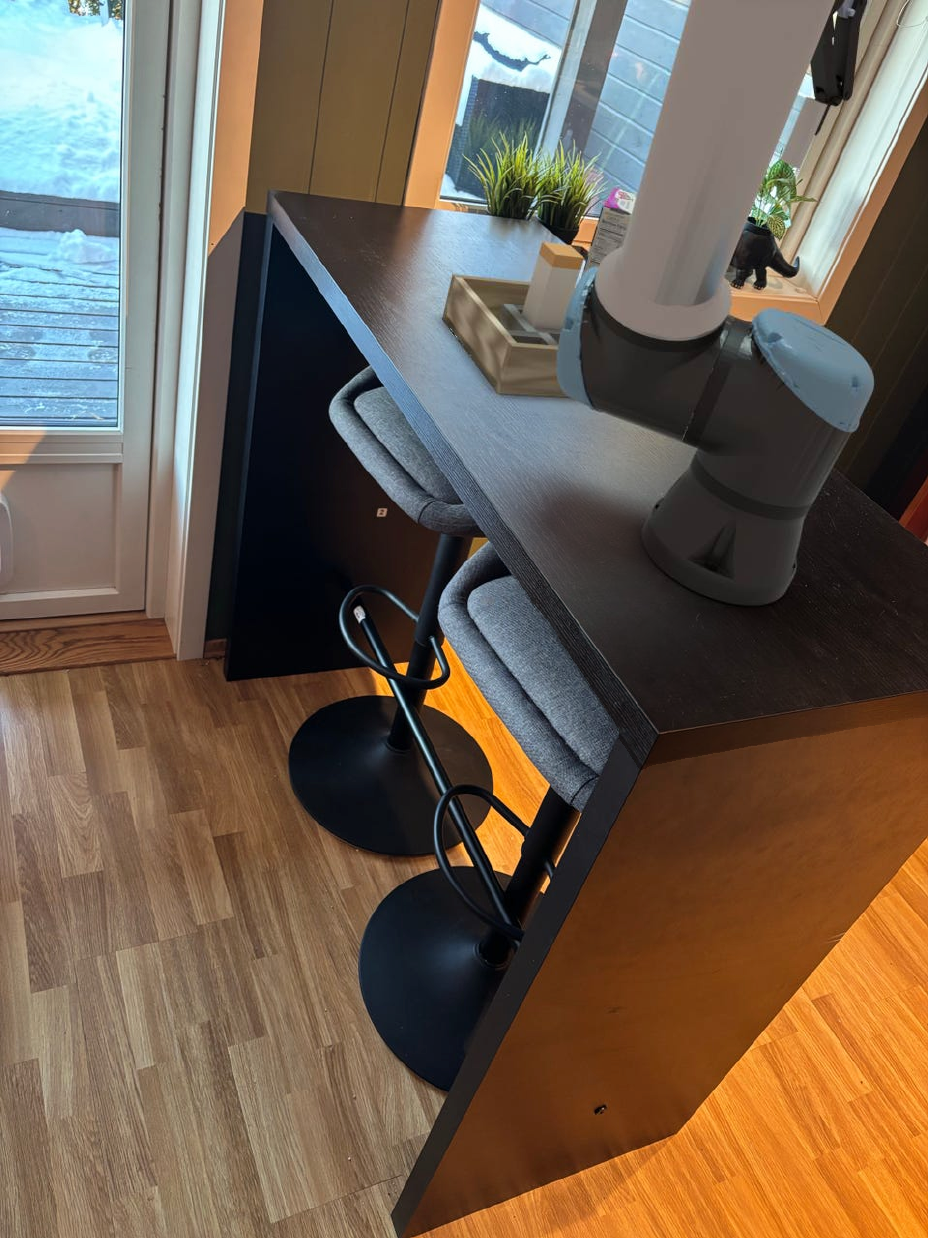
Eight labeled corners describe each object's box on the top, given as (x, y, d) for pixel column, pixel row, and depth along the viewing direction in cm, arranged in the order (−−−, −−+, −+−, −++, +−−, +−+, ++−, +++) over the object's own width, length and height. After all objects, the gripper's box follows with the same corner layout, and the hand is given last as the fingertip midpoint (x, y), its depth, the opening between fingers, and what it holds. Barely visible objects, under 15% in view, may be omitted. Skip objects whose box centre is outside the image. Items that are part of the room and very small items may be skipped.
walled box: (627, 400, 119) (644, 355, 115) (498, 393, 112) (512, 346, 108) (560, 328, 132) (573, 286, 129) (442, 318, 125) (452, 273, 121)
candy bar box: (578, 297, 144) (614, 185, 134) (609, 308, 144) (647, 197, 134) (564, 320, 135) (602, 202, 125) (598, 332, 135) (638, 214, 125)
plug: (555, 349, 124) (584, 257, 116) (528, 347, 122) (555, 254, 115) (542, 335, 126) (570, 245, 119) (516, 333, 125) (542, 241, 117)
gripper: (898, -55, 99) (805, 160, 111) (714, -123, 87) (633, 126, 100) (951, -42, 94) (847, 182, 107) (763, -112, 83) (672, 148, 95)
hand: (743, 155), depth 103 cm, fingers open, 13 cm apart
